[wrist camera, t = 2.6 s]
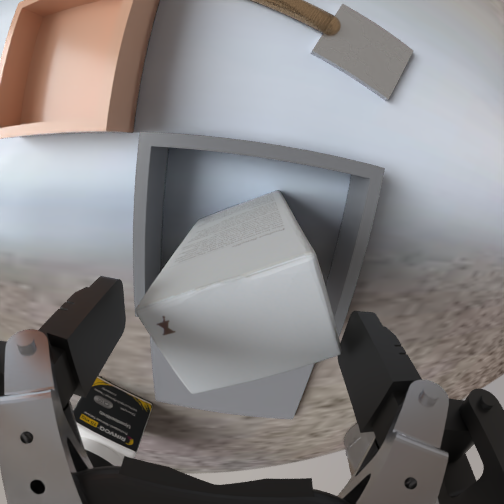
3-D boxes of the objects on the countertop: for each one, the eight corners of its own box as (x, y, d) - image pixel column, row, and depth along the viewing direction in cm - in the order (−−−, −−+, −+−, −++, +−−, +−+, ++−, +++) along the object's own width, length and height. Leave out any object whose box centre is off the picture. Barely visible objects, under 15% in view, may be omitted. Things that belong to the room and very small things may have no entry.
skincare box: (221, 272, 21) (186, 398, 10) (197, 218, 20) (127, 308, 9) (301, 244, 20) (345, 358, 9) (281, 187, 19) (314, 246, 8)
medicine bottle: (154, 403, 27) (123, 496, 16) (140, 430, 29) (114, 508, 18) (94, 373, 26) (46, 457, 14) (88, 404, 28) (51, 477, 17)
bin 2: (364, 164, 18) (390, 169, 14) (292, 414, 27) (295, 447, 23) (159, 133, 18) (134, 131, 14) (157, 396, 26) (146, 427, 22)
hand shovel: (184, 2, 14) (179, -7, 13) (219, -41, 13) (217, -51, 11) (385, 100, 17) (394, 97, 15) (409, 52, 15) (419, 47, 14)
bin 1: (163, -12, 14) (146, -37, 10) (133, 132, 18) (106, 131, 14) (44, 14, 13) (18, 3, 10) (19, 137, 18) (-12, 140, 14)
